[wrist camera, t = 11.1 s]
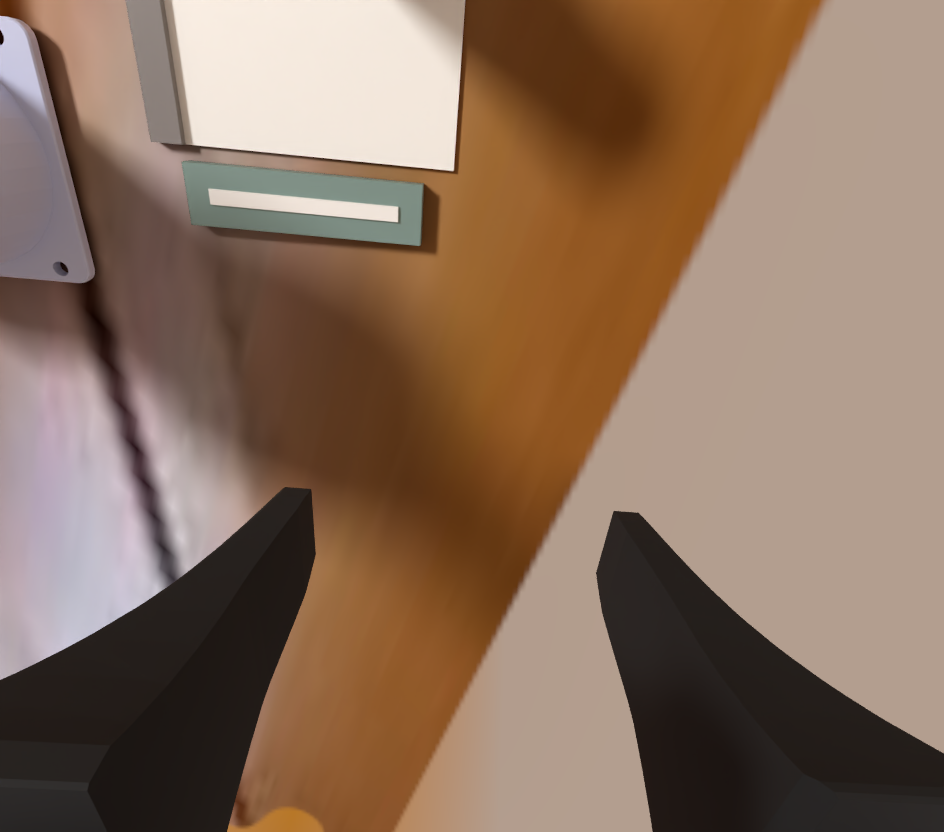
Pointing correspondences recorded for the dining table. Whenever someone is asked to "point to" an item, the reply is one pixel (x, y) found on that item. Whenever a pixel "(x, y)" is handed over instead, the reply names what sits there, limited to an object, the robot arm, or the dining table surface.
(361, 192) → the green striped bar
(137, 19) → the white rectangular slab
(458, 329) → the dining table surface
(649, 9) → the dining table surface
